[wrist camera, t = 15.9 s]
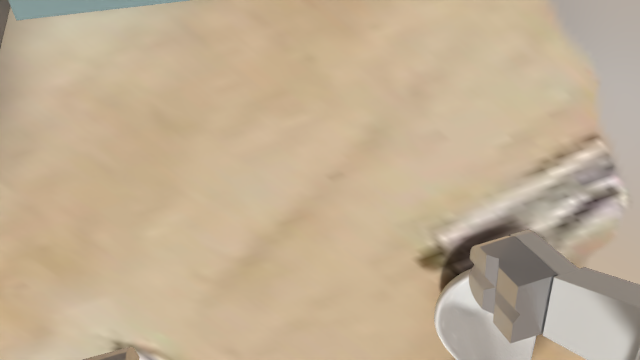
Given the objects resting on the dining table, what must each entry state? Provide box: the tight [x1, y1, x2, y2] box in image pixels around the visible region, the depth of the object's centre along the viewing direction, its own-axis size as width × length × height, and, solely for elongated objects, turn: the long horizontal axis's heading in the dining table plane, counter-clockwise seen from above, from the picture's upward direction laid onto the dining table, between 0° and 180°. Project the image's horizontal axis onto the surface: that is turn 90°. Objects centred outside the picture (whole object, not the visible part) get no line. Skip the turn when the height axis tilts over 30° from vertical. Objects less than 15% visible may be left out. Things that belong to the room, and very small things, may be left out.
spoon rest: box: [434, 269, 536, 360], centre depth 50 cm, size 24×12×7 cm, turn 17°
